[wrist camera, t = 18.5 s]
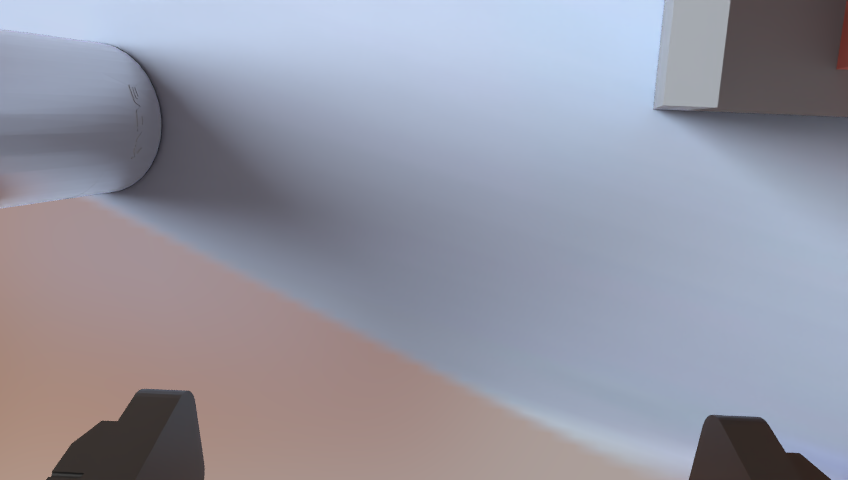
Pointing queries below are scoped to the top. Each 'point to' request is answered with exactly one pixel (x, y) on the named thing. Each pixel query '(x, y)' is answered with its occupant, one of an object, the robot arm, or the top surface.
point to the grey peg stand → (752, 57)
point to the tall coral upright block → (844, 43)
